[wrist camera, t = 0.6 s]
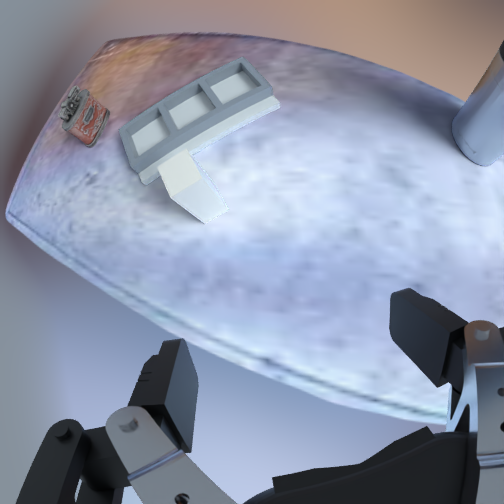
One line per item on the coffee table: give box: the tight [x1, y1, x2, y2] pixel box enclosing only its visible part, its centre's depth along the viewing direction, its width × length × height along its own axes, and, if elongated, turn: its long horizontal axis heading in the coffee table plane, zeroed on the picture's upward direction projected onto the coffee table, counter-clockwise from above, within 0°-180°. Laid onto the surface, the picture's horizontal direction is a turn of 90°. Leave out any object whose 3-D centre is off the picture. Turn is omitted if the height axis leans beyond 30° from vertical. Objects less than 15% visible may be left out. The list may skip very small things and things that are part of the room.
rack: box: [119, 57, 281, 185], centre depth 37 cm, size 22×12×3 cm, turn 118°
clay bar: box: [157, 148, 229, 224], centre depth 31 cm, size 4×4×10 cm
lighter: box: [58, 86, 110, 148], centre depth 37 cm, size 8×3×10 cm, turn 168°
